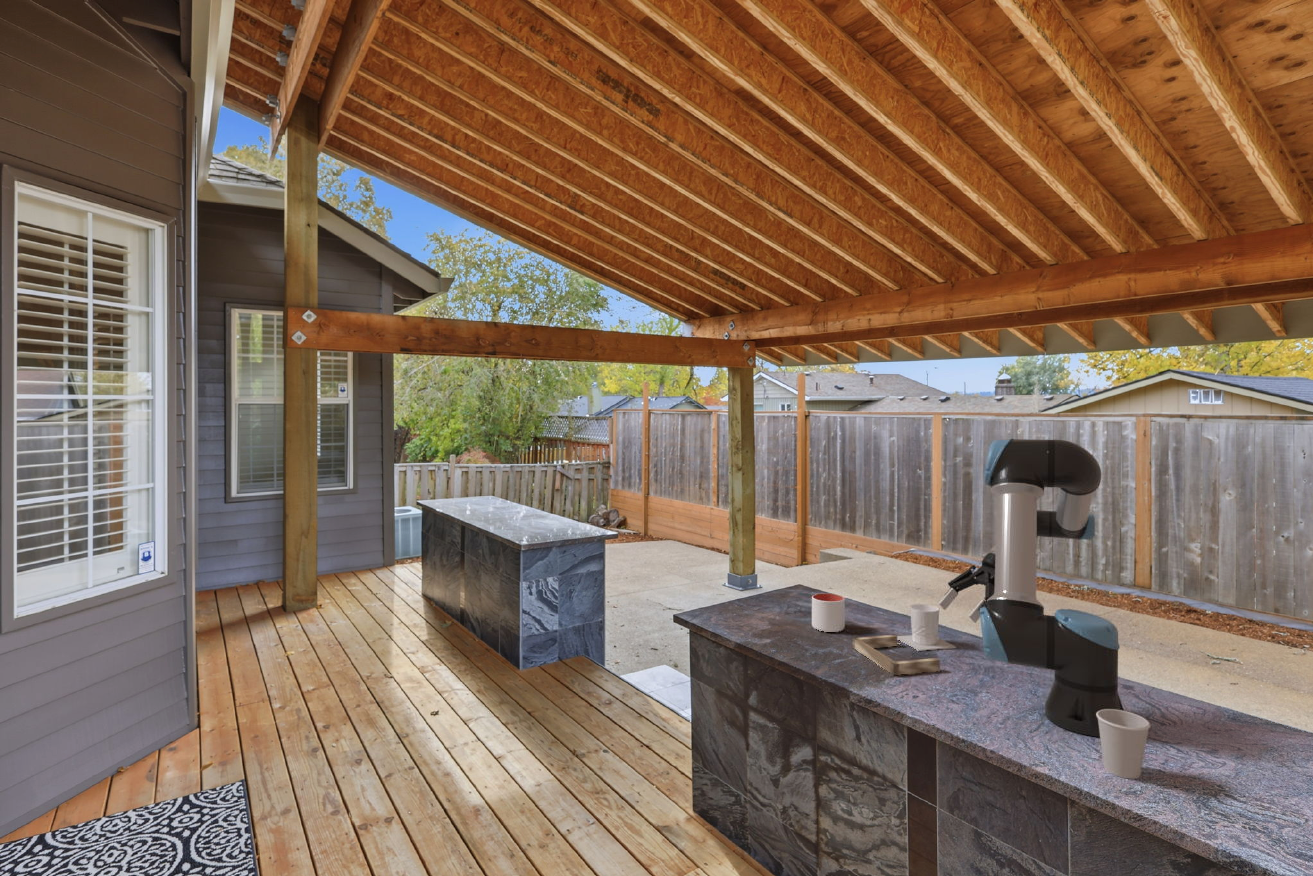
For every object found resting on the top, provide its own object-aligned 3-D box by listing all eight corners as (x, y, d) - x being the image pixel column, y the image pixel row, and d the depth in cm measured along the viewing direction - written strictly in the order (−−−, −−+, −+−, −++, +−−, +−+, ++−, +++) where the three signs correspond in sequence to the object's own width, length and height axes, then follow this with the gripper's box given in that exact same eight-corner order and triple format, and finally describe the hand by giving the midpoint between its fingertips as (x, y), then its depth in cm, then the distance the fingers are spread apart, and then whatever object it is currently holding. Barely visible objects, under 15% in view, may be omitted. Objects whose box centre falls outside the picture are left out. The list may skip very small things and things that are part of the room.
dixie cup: (1127, 759, 131) (1128, 708, 131) (1160, 782, 123) (1161, 728, 123) (1085, 759, 131) (1086, 708, 131) (1115, 783, 123) (1116, 728, 122)
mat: (955, 648, 194) (955, 646, 194) (918, 651, 191) (918, 649, 191) (929, 635, 206) (929, 633, 206) (894, 638, 203) (894, 636, 203)
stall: (894, 644, 197) (894, 634, 197) (939, 671, 177) (939, 659, 177) (852, 648, 194) (852, 638, 194) (893, 675, 174) (893, 664, 174)
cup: (805, 626, 215) (805, 595, 214) (830, 622, 219) (830, 591, 219) (825, 635, 206) (825, 603, 205) (851, 631, 210) (851, 599, 210)
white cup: (934, 637, 202) (934, 604, 202) (942, 646, 194) (943, 611, 194) (907, 636, 203) (907, 603, 202) (914, 645, 195) (914, 611, 195)
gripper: (1039, 577, 192) (993, 633, 189) (979, 560, 217) (937, 609, 214) (1024, 560, 191) (977, 616, 188) (965, 544, 215) (922, 594, 212)
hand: (956, 613), depth 201 cm, fingers open, 13 cm apart
